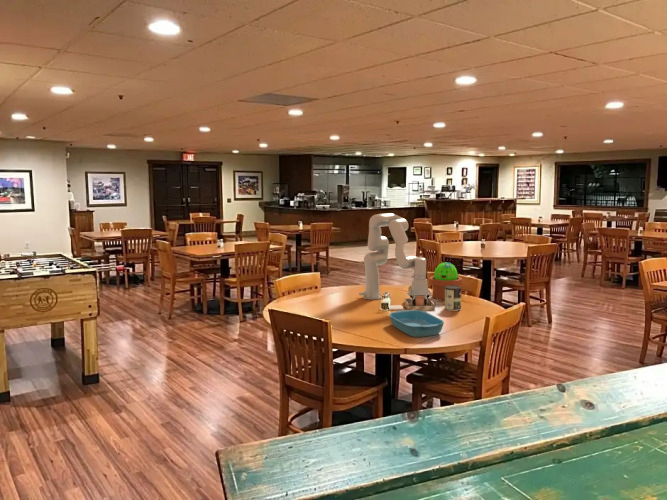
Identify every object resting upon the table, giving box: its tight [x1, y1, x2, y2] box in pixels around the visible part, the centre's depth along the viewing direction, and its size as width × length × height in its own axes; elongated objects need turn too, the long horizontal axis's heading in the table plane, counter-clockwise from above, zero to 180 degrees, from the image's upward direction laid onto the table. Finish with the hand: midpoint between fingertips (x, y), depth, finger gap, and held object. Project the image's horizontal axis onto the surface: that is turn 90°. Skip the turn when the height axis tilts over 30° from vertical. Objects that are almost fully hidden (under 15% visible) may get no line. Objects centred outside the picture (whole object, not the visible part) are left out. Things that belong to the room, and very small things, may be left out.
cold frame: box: [404, 297, 436, 311], centre depth 333 cm, size 17×13×5 cm
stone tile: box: [388, 304, 404, 311], centre depth 333 cm, size 9×9×1 cm
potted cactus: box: [428, 261, 463, 301], centre depth 360 cm, size 22×22×25 cm
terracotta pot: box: [415, 296, 425, 306], centre depth 333 cm, size 7×7×8 cm
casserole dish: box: [388, 309, 445, 338], centre depth 286 cm, size 37×22×7 cm, turn 17°
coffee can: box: [444, 285, 463, 312], centre depth 329 cm, size 10×10×14 cm
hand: (419, 304), depth 334 cm, fingers closed on terracotta pot, 6 cm apart
